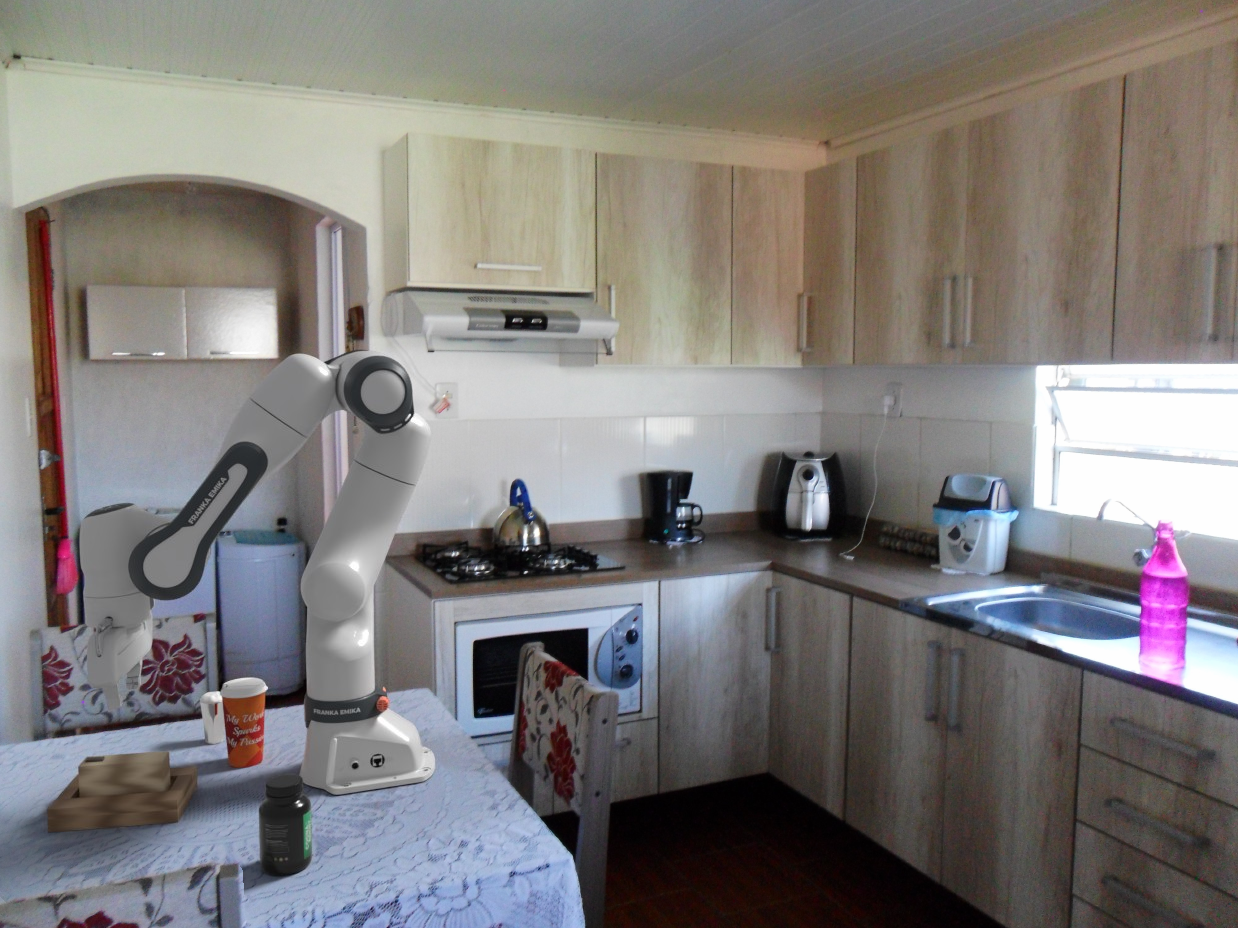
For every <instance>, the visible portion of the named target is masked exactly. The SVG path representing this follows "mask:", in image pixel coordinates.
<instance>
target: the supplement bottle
mask: <svg viewBox="0 0 1238 928" xmlns="http://www.w3.org/2000/svg"><path fill="white" fill-rule="evenodd" d="M304 788H305V787H304V782H303V779H302V777H301V776H299V774H294V773H287V774H279V775H276V776H273V777H271V778H268V780H266V783H265V793H264V794H265V798H266V799H265V798H264V800H263V801H262V802H261V803H260V805H259V808H258V832H259V833H258V836H259V839H258V842H259V865H260V866H259V867H260V869H261V870H262V872H263V873H265V874H267V875H270V876H277V877H278V876H279V877H281V876H290V875H292V874H296V873H299V872H301V871H303V870H305V869H306V868H308V866H309V865H310V864H311V863H312V860H313V835H312V834H313V832H312V802H311V800H310V798H309V797H308V796H307V795H305V794H304Z"/></svg>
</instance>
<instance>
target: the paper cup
mask: <svg viewBox="0 0 1238 928" xmlns="http://www.w3.org/2000/svg"><path fill="white" fill-rule="evenodd" d="M268 689H269V687H268V686H267V685H266V682H265V681H264V680H263V679H261V678H258V677H241V678H236V679H235V678H234V679H231V680H229V681H226V682H224V683H223V684H222V687H221V689H220V691H219V692H220V695H221V696H222V702H223V712H224V722H225V740H226V741H225V742H226V750H227V752H226V753H227V757H228V764H229V766H231V767H232V768H238V769H241V768H242V769H243V768H244V769H245V768H249V767H250V768H251V767H254V766H257V765H259V764H261V763H262V761H263V760H264V746H265V741H264V740H265V714H266V713H265V711H266V692H267V690H268Z"/></svg>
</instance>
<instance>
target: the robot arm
mask: <svg viewBox="0 0 1238 928" xmlns="http://www.w3.org/2000/svg"><path fill="white" fill-rule="evenodd" d="M410 377H411V376H410V375H409V373H408V371H407V370H406V369H405V367H404V366H402V364H401V363H400V362H399V361H397V360H395V359H393V358H391V357H390V356H389V355H387V354H384V353H382V352H380V351H377V350H376V351H374V350H366V349H353V350H350V351H347V352H343V353H342V354H340V355H338V356H335V357H333V358H330V359H328V360H325V361H323V360H320V359H319V358H317V357H315V356H312V355H310V354H306V353H295V354H291V355H289V356H287V357H286V358H285V359H284V360H282V361H281V362H280V363H279V364H278V365H277V366H275V367H274V368H273V369H272V370H271V371H270V372H269V373H268V374H267V375H266V376H265V377H264V379H262V380H261V381H260V383H258V385H257V386H256V387H255V388H254V390H253V391H252V392H251V393H250V394H249V397H247V399H246V400H245V401H244V403H243V404H242V405H241V407H240V408H239V410H238V411H237V413H236V415H235V416H234V418H233V420H232V422H231V424H230V425H229V428H228V429H227V432H226V434H225V436H224V439H223V441H222V444H221V447H220V450H219V452H218V455H217V457H216V460H215V462H214V464H213V466H212V468H211V469H210V471H209V473H208V474H207V476H206V478H205V479H204V480H203V482H201V484H200V486H199V487H197V490H196V491H195V492H194V493H193V495H192V496H191V497H190V499H188V501H187V502H186V503H185V505H184V506H183V507H182V509H181V510H180V512H179V513H178V514H177V515H176V516H175V517H174V518H169V517H166V516H165V517H164V516H161V515H159V514H156V513H152V512H150V511H148V510H145V509H143V508H141V507H140V506H138V505H137V504H136V503H131V502H122V503H115V504H111V505H106V506H103V507H101V508H96V509H95V510H92V511H91V512H90V513H88V514H86V516H85V517H84V518H83V519H82V521H81V523H80V528H79V559H80V560H79V561H80V569H81V571H82V573H83V575H84V587H83V591H82V594H83V596H82V597H83V605H84V606H83V608H84V618H85V625H86V626H87V627H88V628H92V629H95V631H94V633H92V634H91V635H90V636H89V638H88V640H87V645H86V664H87V665H86V666H87V670H86V671H87V672H86V673H87V681H88V684H89V686H90V688H92V689H99V688H101V690H102V693H103V694H104V697H105V699H106V708H107V710H111V711H114V710H119V709H120V708H121V707H122V705H123V704H124V699H123V694H121V691H120V686H121V681H122V680H123V678H125V676H126V678H125V684H126V685H125V686H126V689H127V690H137V689H138V688H139V687H140V686H141V685H142V679H141V675H142V667H143V658H144V657H146V655H147V654H148V653H149V652H150V651H151V649H152V645H153V634H154V633H153V631H154V630H153V628H154V627H153V612H152V610H153V609H154V608H155V605H156V603H155V602H156V601H155V600H158V601H174V600H178V599H181V598H183V597H185V596H188V595H189V594H190V593H191V592H192V591H194V590H195V589H196V587H198V585H199V584H200V582H201V580H202V577H203V575H204V571H205V568H206V567H207V564H208V562H209V560H210V557H211V553H212V545H213V543H214V542H215V540H216V539H217V537H218V536H219V534H220V533H221V532H222V530H223V529H224V528H225V527H226V525H227V524H228V522H230V520H231V519H232V517H233V516H234V514H235V513H236V512H237V510H238V509H239V508H240V506H241V505H242V504H243V502H244V501H246V499H247V498H248V497H249V496H250V495H251V494H252V493H253V492H254V491H255V490H256V489H258V487H260V486H261V485H262V484H264V482H266V481H267V480H268V479H270V478H271V477H272V476H273V475H274V474H276V473H277V472H278V471H280V470H281V469H282V468H283V467H284V466H285V465H286V464H287V463H289V461H291V460H292V459H293V457H295V456H296V454H297V453H298V452H299V451H300V450H301V449H302V448H303V446H304V445H305V444H306V443H307V442H308V440H309V438H310V437H311V436H312V434H313V433H314V432H315V430H316V429H317V428H318V426H319V424H320V423H321V422H322V421H324V420H325V419H326V418H327V417H328V416H330V415H331V414H334V413H335V412H338V411H344V412H347V413H348V414H349V415H351V416H354V417H356V418H358V419H359V420H361V421H362V423H363V435H362V440H361V444H360V446H359V448H358V450H357V451H356V453H355V456H354V458H353V460H352V463H351V464H350V467H349V469H348V471H347V474H346V477H345V478H344V481H343V483H342V484H341V488H340V490H339V492H338V493H337V494H338V495H337V496H336V499H335V500H334V503H333V506H332V508H331V509H330V512H329V514H328V517H327V519H326V521H325V524H324V526H323V529H322V531H321V533H320V535H319V537H318V539H317V542H316V543H315V546H314V548H313V551H312V552H311V555H310V557H309V559H308V562H307V564H306V566H305V569H304V571H303V573H302V576H301V579H300V594H301V597H302V599H303V602H304V604H305V606H306V607H307V608H306V614H307V615H306V639H305V641H306V642H305V663H306V664H305V665H306V666H305V667H306V669H305V670H306V692H305V695H304V700H303V719H304V724H305V728H306V733H305V734H306V735H305V736H306V737H305V745H304V753H303V758H302V763H301V766H300V771H299V774H298V775H299V776H301V777H302V779H303V784H305V785H307V786H310V787H314V788H318V789H322V790H325V791H327V792H328V793H329V794H332V795H336V796H337V795H345V794H351V793H357V792H364V791H370V790H371V791H373V790H376V789H377V790H378V789H384V788H389V787H390V788H391V787H396V786H403V785H409V784H416V783H422V782H425V781H426V780H428V779H430V777H432V775H433V774H434V772H435V770H436V759H435V758H436V757H435V754H434V752H433V751H432V749H430V748H429V747H426V746H425V745H424V746H423V745H422V744H423V743H422V740H421V735H420V734H419V731H418V728H417V727H416V726H415V724H414V723H413V722H411V721H409V720H408V719H406V718H404V717H403V716H401V715H400V714H398V713H397V712H395V711H393V710H391V709H390V708H389V706H390V699H389V698H388V693H387V690H386V688H385V687H384V686H383V687H382V689H381V688H380V687H379V686H376V677H375V674H376V673H375V618H374V617H375V614H374V613H375V606H374V605H375V604H374V603H375V602H374V598H375V597H374V596H375V593H374V591H375V590H374V589H375V588H374V587H375V584H376V582H377V579H378V577H379V574H380V572H381V570H382V567H383V564H384V562H385V560H386V557H387V555H388V552H389V550H390V547H391V544H392V543H393V539H394V537H395V534H396V532H397V531H398V527H399V525H400V523H401V520H402V518H403V515H404V513H405V511H406V509H407V506H408V504H409V503H410V500H411V497H412V496H413V493H414V491H415V488H416V487H417V484H418V481H419V478H420V477H421V474H422V471H423V469H424V466H425V462H426V460H427V457H428V452H429V449H430V444H431V439H432V429H431V427H430V425H429V423H428V422H427V420H426V419H424V417H422V416H421V415H420V414H419V413H417V412H415V406H414V397H413V396H414V395H413V384H412V380H411V378H410Z"/></svg>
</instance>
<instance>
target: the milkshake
mask: <svg viewBox="0 0 1238 928" xmlns="http://www.w3.org/2000/svg"><path fill="white" fill-rule="evenodd" d="M199 704H200V710H201V716H202V725H203V733H204V734H203V735H204V742H205V743H206V744H208V745H216V744H220V743H223V742H224V741H225V735H226V732H225V722H224V712H223V702H222V696H221V695H220V691H208V692H205V693H204V694H202V695H201V697H200V699H199Z"/></svg>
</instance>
